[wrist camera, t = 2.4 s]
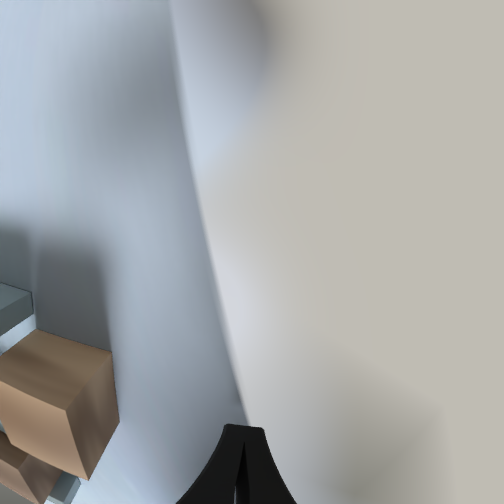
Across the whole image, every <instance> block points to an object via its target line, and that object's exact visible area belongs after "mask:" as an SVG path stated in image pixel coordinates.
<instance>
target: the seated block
mask: <svg viewBox="0 0 504 504" xmlns="http://www.w3.org/2000/svg"><path fill="white" fill-rule="evenodd" d="M62 472H63V470H61V469H59V468H57V467H55V466H53V465H50V464H48V463H46V462H44V461H42V460H40V459H38V458H36V457H34V456H32V455H30V454H29V453H27V452H25V451H23V450H21V449H19V448H18V447H16V446H14V445H12V444H11V442H10V440H9V438H8V436H7V434H6V433H4V432H2V431H1V430H0V483H2V484H3V485H5V486H7V487H8V488H10V489H11V490H13V491H15V492H16V493H18V494H20V495H22V496H23V497H25V498H26V499H28V500H30V501H32V502H33V503H35V504H44V503H45V501H46V499H47V497H48V496H49V494H50V492H51V490H52V489H53V487H54V485H55V484H56V482H57V480H58V479H59V477H60V475H61V474H62Z"/></svg>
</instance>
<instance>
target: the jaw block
mask: <svg viewBox="0 0 504 504" xmlns="http://www.w3.org/2000/svg"><path fill="white" fill-rule="evenodd" d="M0 420H1V423H2V425H3V427H4V429H5V432H6V434H7V436H8V438H9V440H10V442H11V444H12V445H14V446H16V447H18V448H19V449H21V450H23V451H25V452H27V453H29V454H30V455H32V456H34V457H36V458H38V459H40V460H42V461H44V462H46V463H48V464H50V465H53V466H55V467H57V468H59V469H61V470H64V471H66V472H68V473H70V474H73V475H75V476H78V477H80V478H83V479H85V480H88V481H89V479H90V477H91V475H92V473H93V471H94V469H95V467H96V466H97V464H98V462H99V460H100V458H101V456H102V454H103V452H104V450H105V448H106V446H107V445H108V443H109V441H110V439H111V437H112V435H113V433H114V431H115V429H116V428H117V426H118V424H119V422H120V421H119V414H118V407H117V399H116V391H115V382H114V372H113V361H112V352H110V351H106V350H102V349H99V348H95V347H92V346H88V345H85V344H81V343H78V342H75V341H71V340H68V339H65V338H62V337H59V336H56V335H53V334H50V333H47V332H44V331H41V330H38V329H35V330H34V331H32V332H31V333H30V334H28V335H27V336H26V337H24V338H23V339H22V340H20V341H19V342H18V343H16V344H15V345H14V346H13V347H11V348H10V349H9V350H7V351H6V352H5V353H3V354H2V355H1V356H0Z"/></svg>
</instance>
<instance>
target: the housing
mask: <svg viewBox="0 0 504 504" xmlns="http://www.w3.org/2000/svg"><path fill="white" fill-rule="evenodd" d="M32 314H33V307H32V298H31V292H28V291H25V290H21V289H18V288H15V287H12V286H9V285H6V284H3V283H0V336H2V335H3V334H5V333H6V332H7V331H9V330H10V329H12V328H13V327H15V326H16V325H18V324H19V323H21V322H22V321H23V320H25V319H26V318H28V317H29V316H31V315H32ZM0 430H1V431H2V432H4V433H6V432H5V429H4V427H3V425H2V423H1V420H0ZM80 485H81V484H80V482H79V479H78V477H77V476H74V475H72V474H70V473H67V472H65V471H63V472H62V474H61V475H60V477H59V479H58V480H57V482H56V484H55V485H54V487H53V489H52V490H51V492H50V494H49V496H48V497H47V500H49V501H51V502H53V503H55V504H71V502H72V500H73V498H74V496H75V495H76V493H77V491H78V489H79V487H80Z"/></svg>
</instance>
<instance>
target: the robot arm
mask: <svg viewBox="0 0 504 504" xmlns="http://www.w3.org/2000/svg"><path fill="white" fill-rule="evenodd" d="M235 486H236V504H297V503H296V502H295V501H294V499H293V497H292V496H291V494H290V492H289V491H288V489H287V487H286V485H285V483H284V481H283V479H282V478H281V476H280V474H279V471H278V469H277V467H276V465H275V463H274V460H273V458H272V455H271V452H270V449H269V446H268V444H267V440H266V436H265V432H264V429H262V428H260V427H251V426H242V425H234V424H226V425H224V429H223V432H222V435H221V438H220V440H219V442H218V445H217V447H216V449H215V451H214V452H213V454H212V456H211V458H210V459H209V461H208V463H207V464H206V466H205V468H204V469H203V470H202V472H201V473H200V475H199V476H198V478H197V479H196V480H195V482H194V483H193V484H192V486H191V487H190V488H189V489H188V491H187V492H186V493H185V494H184V495H183V496H182V497H181V499H180V500H179V501H178V502H177V503H176V504H234V493H235Z"/></svg>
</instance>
